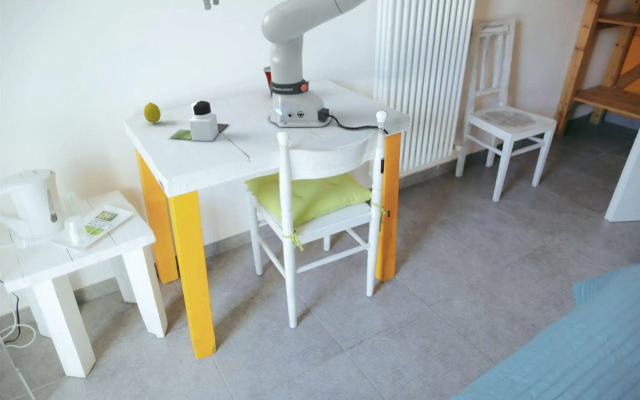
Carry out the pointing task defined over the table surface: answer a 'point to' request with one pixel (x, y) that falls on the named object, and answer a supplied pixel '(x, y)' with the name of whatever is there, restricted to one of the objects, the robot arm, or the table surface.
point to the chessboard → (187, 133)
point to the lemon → (152, 113)
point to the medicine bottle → (203, 122)
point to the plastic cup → (268, 75)
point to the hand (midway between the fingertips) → (212, 7)
